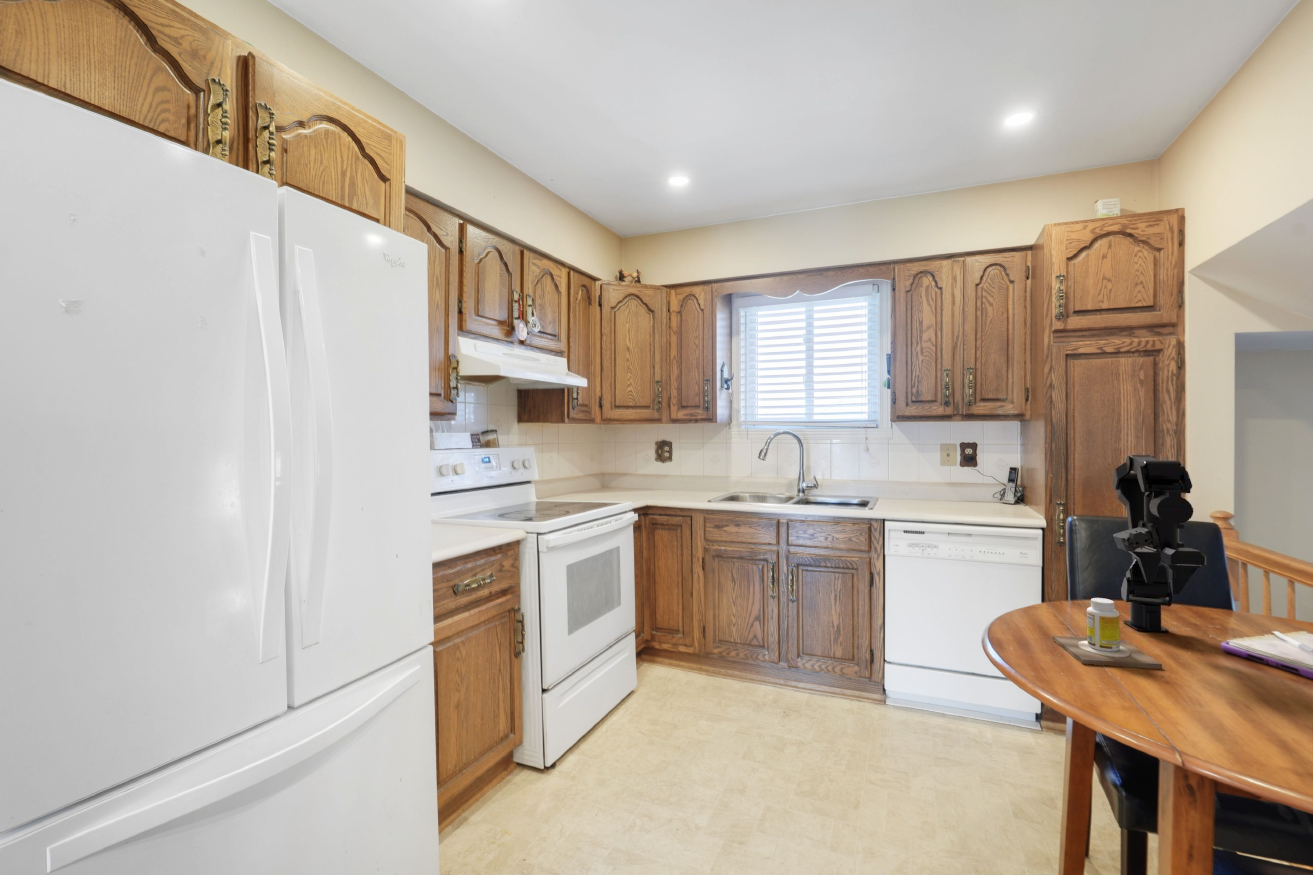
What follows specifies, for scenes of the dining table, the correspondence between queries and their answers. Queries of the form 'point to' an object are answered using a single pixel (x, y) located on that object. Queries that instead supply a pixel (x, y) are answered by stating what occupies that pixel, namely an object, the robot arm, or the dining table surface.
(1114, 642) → the supplement bottle
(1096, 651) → the board
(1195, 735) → the dining table surface
